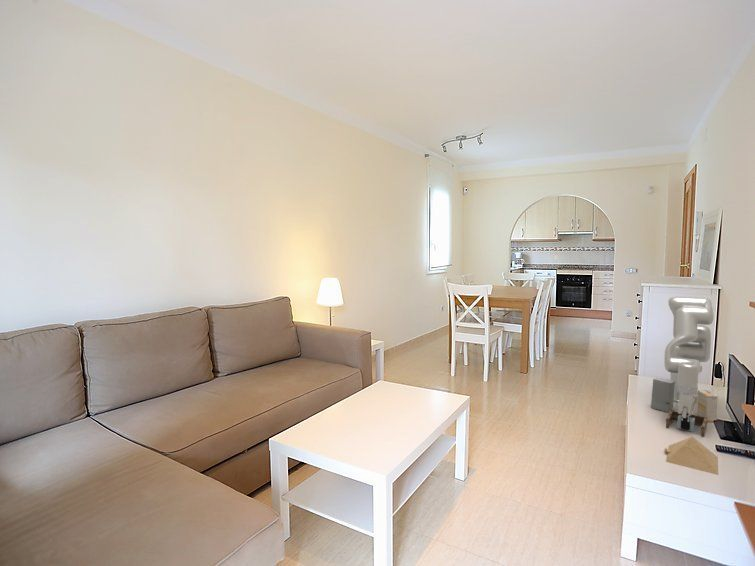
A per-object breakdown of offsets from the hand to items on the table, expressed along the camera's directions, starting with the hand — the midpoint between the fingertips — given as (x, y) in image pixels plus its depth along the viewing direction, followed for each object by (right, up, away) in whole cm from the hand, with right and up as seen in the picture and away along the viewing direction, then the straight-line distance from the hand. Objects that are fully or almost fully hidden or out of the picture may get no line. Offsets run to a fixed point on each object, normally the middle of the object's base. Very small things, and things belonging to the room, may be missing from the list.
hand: (685, 426), depth 188 cm
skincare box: (+5, +1, +23) cm, 23 cm away
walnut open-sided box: (+1, -1, +1) cm, 2 cm away
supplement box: (+17, 0, +10) cm, 20 cm away
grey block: (0, -1, 0) cm, 1 cm away
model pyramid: (-18, -4, -26) cm, 32 cm away
